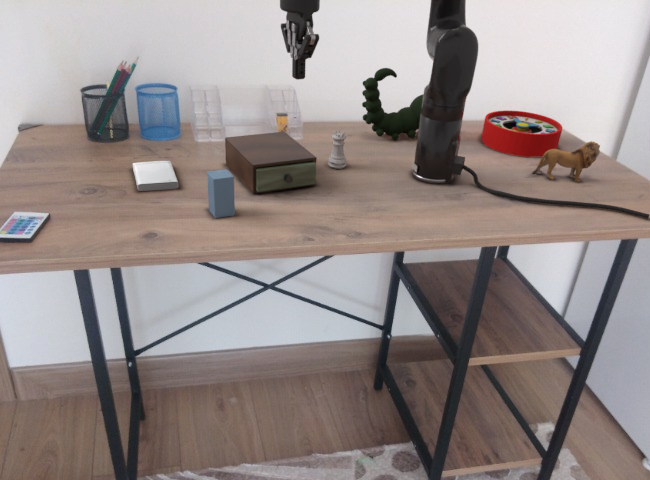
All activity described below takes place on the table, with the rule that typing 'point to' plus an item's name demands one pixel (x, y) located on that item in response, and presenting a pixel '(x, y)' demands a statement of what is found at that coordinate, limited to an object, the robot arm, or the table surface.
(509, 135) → the toy clock
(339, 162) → the rook chess piece
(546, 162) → the lion figurine
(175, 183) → the hard drive
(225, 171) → the slate block
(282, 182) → the drawer
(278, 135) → the cabinet
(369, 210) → the table surface
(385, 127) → the toy figurine
